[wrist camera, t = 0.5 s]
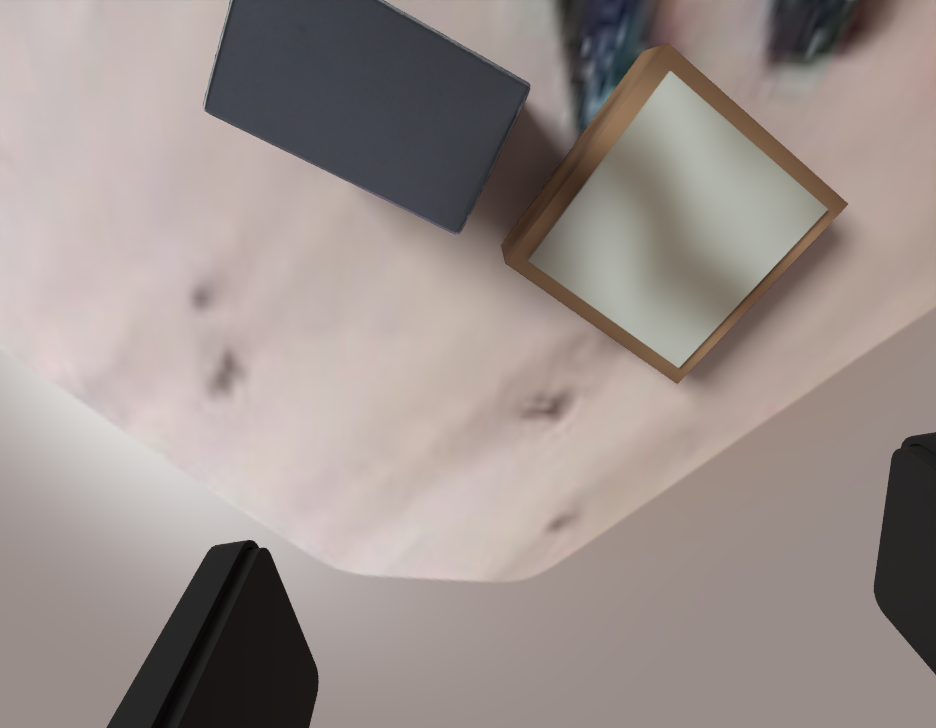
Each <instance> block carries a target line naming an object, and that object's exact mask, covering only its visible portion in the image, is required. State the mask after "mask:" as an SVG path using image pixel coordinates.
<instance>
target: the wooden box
mask: <svg viewBox="0 0 936 728" xmlns="http://www.w3.org/2000/svg"><path fill="white" fill-rule="evenodd" d="M847 205H848V203H847V202H846V201H844V200H843V199H842V198H841V197H840V196H839V195H838V194H837V193H836V192H834V191H833V190H832V189H831V188H830V187H829V186H828V185H827V184H825V183H824V182H823V181H822V180H821V179H820V178H819V177H818V176H817V175H815V174H814V173H813V172H812V171H811V170H810V169H809V168H808V167H806V166H805V165H804V164H803V163H802V162H801V161H800V160H799V159H797V158H796V157H795V156H794V155H793V154H792V153H791V152H790V151H789V150H787V149H786V148H785V147H784V146H783V145H782V144H781V143H780V142H778V141H777V140H776V139H775V138H774V137H773V136H772V135H771V134H769V133H768V132H767V131H766V130H765V129H764V128H763V127H762V126H761V125H759V124H758V123H757V122H756V121H755V120H754V119H753V118H752V117H750V116H749V115H748V114H747V113H746V112H745V111H744V110H743V109H742V108H740V107H739V106H738V105H737V104H736V103H735V102H734V101H733V100H731V99H730V98H729V97H728V96H727V95H726V94H725V93H724V92H722V91H721V90H720V89H719V88H718V87H717V86H716V85H715V84H714V83H712V82H711V81H710V80H709V79H708V78H707V77H706V76H705V75H703V74H702V73H701V72H700V71H699V70H698V69H697V68H696V67H694V66H693V65H692V64H691V63H690V62H689V61H688V60H687V59H686V58H684V57H683V56H682V55H681V54H680V53H679V52H678V51H677V50H675V49H674V48H673V47H672V46H671V45H670V44H669V43H667V44H664V45H661V46H657V47H654V48H651V49H648V50H645V51H642V53H641V54H640V56H639V57H638V58H637V60H636V61H635V62H634V64H633V65H632V67H631V68H630V69H629V71H628V72H627V73H626V75H625V76H624V78H623V79H622V80H621V82H620V83H619V84H618V86H617V87H616V89H615V90H614V91H613V93H612V94H611V95H610V97H609V98H608V100H607V101H606V102H605V104H604V105H603V106H602V108H601V109H600V111H599V112H598V113H597V115H596V116H595V117H594V119H593V120H592V121H591V123H590V124H589V126H588V127H587V128H586V130H585V131H584V132H583V134H582V135H581V137H580V138H579V139H578V141H577V142H576V143H575V145H574V146H573V148H572V149H571V150H570V152H569V153H568V154H567V156H566V157H565V159H564V160H563V161H562V163H561V164H560V165H559V167H558V168H557V170H556V171H555V172H554V174H553V175H552V176H551V178H550V179H549V181H548V182H547V183H546V185H545V186H544V187H543V189H542V190H541V192H540V193H539V194H538V196H537V197H536V198H535V200H534V201H533V203H532V204H531V205H530V207H529V208H528V209H527V211H526V212H525V214H524V215H523V216H522V218H521V219H520V220H519V222H518V223H517V225H516V226H515V227H514V229H513V230H512V231H511V233H510V234H509V236H508V237H507V238H506V240H505V241H504V242H503V244H502V245H501V247H502V251H503V255H504V260H505V263H506V264H507V265H509V266H510V267H512V268H513V269H514V270H516V271H517V272H519V273H520V274H521V275H523V276H524V277H526V278H527V279H529V280H530V281H531V282H533V283H534V284H536V285H537V286H539V287H540V288H541V289H543V290H544V291H546V292H547V293H549V294H550V295H551V296H553V297H554V298H556V299H557V300H558V301H560V302H561V303H563V304H564V305H566V306H567V307H568V308H570V309H571V310H573V311H574V312H576V313H577V314H578V315H580V316H581V317H583V318H584V319H585V320H587V321H588V322H590V323H591V324H593V325H594V326H595V327H597V328H598V329H600V330H601V331H603V332H604V333H605V334H607V335H608V336H610V337H611V338H612V339H614V340H615V341H617V342H618V343H620V344H621V345H622V346H624V347H625V348H627V349H628V350H630V351H631V352H632V353H634V354H635V355H637V356H638V357H640V358H641V359H642V360H644V361H645V362H647V363H648V364H649V365H651V366H652V367H654V368H655V369H657V370H658V371H659V372H661V373H662V374H664V375H665V376H667V377H668V378H669V379H671V380H672V381H674V382H675V383H676V384H678V383H679V382H680V381H681V380H682V379H683V378H684V377H685V376H686V374H687V373H688V372H689V371H690V370H691V369H692V368H693V367H694V366H695V365H696V364H697V363H698V362H699V361H700V360H701V359H702V358H703V357H704V356H705V354H706V353H707V352H708V351H709V350H710V349H711V348H712V347H713V346H714V345H715V344H716V343H717V342H718V341H719V340H720V339H721V338H722V337H723V336H724V334H725V333H726V332H727V331H728V330H729V329H730V328H731V327H732V326H733V325H734V324H735V323H736V322H737V321H738V320H739V319H740V318H741V317H742V316H743V315H744V313H745V312H746V311H747V310H748V309H749V308H750V307H751V306H752V305H753V304H754V303H755V302H756V301H757V300H758V299H759V298H760V297H761V296H762V295H763V293H764V292H765V291H766V290H767V289H768V288H769V287H770V286H771V285H772V284H773V283H774V282H775V281H776V280H777V279H778V278H779V277H780V276H781V275H782V274H783V272H784V271H785V270H786V269H787V268H788V267H789V266H790V265H791V264H792V263H793V262H794V261H795V260H796V259H797V258H798V257H799V256H800V255H801V254H802V252H803V251H804V250H805V249H806V248H807V247H808V246H809V245H810V244H811V243H812V242H813V241H814V240H815V239H816V238H817V237H818V236H819V235H820V234H821V233H822V231H823V230H824V229H825V228H826V227H827V226H828V225H829V224H830V223H831V222H832V221H833V220H834V219H835V218H836V217H837V216H838V215H839V214H840V213H841V211H842V210H843V209H844V208H845V207H846V206H847Z"/></svg>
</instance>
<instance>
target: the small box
mask: <svg viewBox="0 0 936 728" xmlns="http://www.w3.org/2000/svg"><path fill="white" fill-rule="evenodd" d="M529 91H530V84H529V83H528V82H526V81H525V80H523V79H521V78H519V77H517V76H516V75H514V74H512V73H511V72H509V71H507V70H505V69H504V68H502V67H500V66H498V65H497V64H495V63H493V62H491V61H490V60H488V59H486V58H484V57H483V56H481V55H479V54H477V53H476V52H474V51H472V50H470V49H468V48H466V47H465V46H463V45H461V44H459V43H458V42H456V41H454V40H452V39H450V38H449V37H447V36H446V35H444V34H442V33H440V32H439V31H437V30H435V29H433V28H431V27H429V26H428V25H426V24H424V23H423V22H421V21H419V20H417V19H416V18H414V17H412V16H410V15H409V14H407V13H405V12H403V11H401V10H399V9H398V8H396V7H394V6H392V5H391V4H389V3H387V2H386V1H384V0H230V3H229V8H228V12H227V16H226V20H225V23H224V27H223V31H222V34H221V38H220V42H219V45H218V50H217V53H216V55H215V61H214V65H213V68H212V72H211V76H210V79H209V84H208V88H207V91H206V94H205V99H204V102H203V109H204V111H206V112H207V113H209V114H210V115H212V116H214V117H216V118H219V119H221V120H223V121H225V122H227V123H229V124H231V125H233V126H235V127H237V128H239V129H241V130H243V131H245V132H247V133H249V134H252V135H254V136H256V137H258V138H260V139H262V140H264V141H266V142H268V143H270V144H272V145H274V146H276V147H278V148H280V149H282V150H284V151H286V152H288V153H291V154H293V155H295V156H297V157H299V158H301V159H303V160H305V161H307V162H309V163H311V164H313V165H315V166H317V167H319V168H321V169H323V170H325V171H327V172H330V173H332V174H334V175H336V176H338V177H340V178H342V179H344V180H346V181H348V182H350V183H352V184H354V185H356V186H358V187H360V188H362V189H364V190H366V191H368V192H370V193H372V194H374V195H376V196H378V197H380V198H382V199H384V200H386V201H388V202H390V203H392V204H394V205H397V206H399V207H401V208H403V209H405V210H407V211H409V212H411V213H413V214H415V215H417V216H419V217H421V218H423V219H425V220H427V221H429V222H431V223H433V224H435V225H437V226H439V227H441V228H443V229H445V230H447V231H449V232H451V233H453V234H459V233H460V232H461V231H462V229H463V227H464V225H465V223H466V221H467V219H468V217H469V216H470V214H471V212H472V210H473V208H474V206H475V204H476V202H477V200H478V198H479V196H480V194H481V192H482V190H483V188H484V186H485V184H486V182H487V180H488V178H489V176H490V173H491V171H492V169H493V167H494V165H495V163H496V161H497V159H498V157H499V155H500V152H501V150H502V148H503V146H504V144H505V142H506V140H507V138H508V136H509V134H510V132H511V130H512V127H513V125H514V123H515V121H516V119H517V117H518V115H519V113H520V111H521V108H522V106H523V104H524V102H525V101H526V99H527V96H528V94H529Z"/></svg>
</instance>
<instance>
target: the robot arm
mask: <svg viewBox="0 0 936 728" xmlns="http://www.w3.org/2000/svg"><path fill="white" fill-rule="evenodd" d="M874 593H875V598H876V601H877V603H878V605H879V607H880V609H881V610H882V612H883V613H884V615H885V616H886V617H887V618H888V619H889V621H890V622H891V623H892V624H893V625H894V626H895V627H896V629H897V630H898V631H899V632H900V633H901V635H902V636H903V637H904V638H905V639H906V640H907V642H908V643H909V644H910V645H911V646H912V647H913V649H914V650H915V651H916V652H917V653H918V654H919V655H920V657H921V658H922V659H923V660H924V662H925V663H926V664H927V665H928V666H929V667H930V669H931V670H932V671H933V672H934V673H935V674H936V432H935V433H928V434H922V435H916V436H911V437H908V438H906V439H905V440H904V442H903V443H902V446H901V448H900V449H897V450H896V451H895V452H894V453H893V455H892V459H891V466H890V474H889V481H888V488H887V495H886V502H885V509H884V517H883V524H882V531H881V538H880V545H879V552H878V560H877V567H876V575H875V581H874ZM317 692H318V671H317V667H316V664H315V662H314V659H313V657H312V654H311V652H310V649H309V647H308V644H307V642H306V640H305V637H304V635H303V632H302V630H301V628H300V625H299V623H298V620H297V618H296V615H295V613H294V610H293V608H292V605H291V603H290V600H289V598H288V595H287V593H286V590H285V588H284V586H283V583H282V581H281V578H280V576H279V573H278V571H277V569H276V566H275V563H274V561H273V558H272V556H271V554H270V552H269V550H268V549H266V548H259V547H258V545H257V544H256V543H255V542H254V541H252V540H247V541H240V542H233V543H228V544H220V545H215V546H213V547H211V549H210V550H209V551H208V552H207V554H206V556H205V558H204V559H203V561H202V563H201V565H200V566H199V568H198V570H197V571H196V573H195V575H194V577H193V579H192V580H191V582H190V584H189V585H188V587H187V589H186V591H185V592H184V594H183V596H182V598H181V599H180V601H179V603H178V604H177V606H176V608H175V610H174V611H173V613H172V615H171V617H170V618H169V620H168V622H167V624H166V625H165V627H164V629H163V630H162V632H161V634H160V636H159V637H158V639H157V641H156V643H155V644H154V646H153V648H152V650H151V651H150V653H149V655H148V657H147V658H146V660H145V662H144V664H143V665H142V667H141V669H140V670H139V672H138V674H137V676H136V677H135V679H134V681H133V683H132V684H131V686H130V688H129V690H128V691H127V693H126V695H125V696H124V698H123V700H122V702H121V704H120V705H119V707H118V709H117V710H116V712H115V714H114V716H113V717H112V719H111V721H110V723H109V724H108V726H107V728H309V726H310V721H311V717H312V713H313V709H314V704H315V701H316V697H317Z"/></svg>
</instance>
